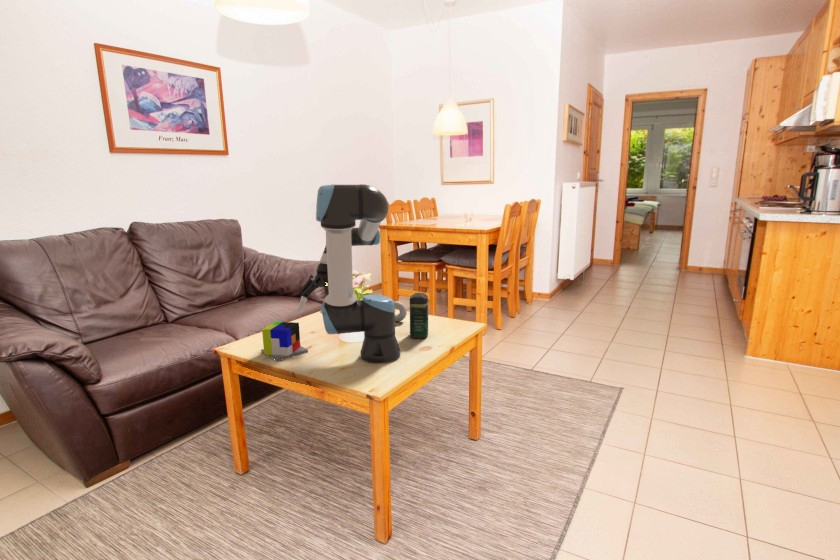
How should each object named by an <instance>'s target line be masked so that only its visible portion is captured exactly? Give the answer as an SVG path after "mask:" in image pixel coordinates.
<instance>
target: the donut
mask: <svg viewBox="0 0 840 560" xmlns="http://www.w3.org/2000/svg"><path fill="white" fill-rule="evenodd" d="M393 301H394V300H393ZM394 307H395V309H398V311H399V313H398V314H396V313H395V322H396V321H400V322H402V321H403V320H404V319H405V318H406V316H407V312H408V311H407V307H406V306H405V305H404V303H403V302H402V301H394Z"/></svg>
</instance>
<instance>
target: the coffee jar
mask: <svg viewBox="0 0 840 560" xmlns="http://www.w3.org/2000/svg"><path fill="white" fill-rule="evenodd" d="M409 336H410V338H414V339H416V338H421V339H424V338H427V337H428V336H429V295H428V294H426V293H424V292H415V293H413V294H412V295H410V296H409Z"/></svg>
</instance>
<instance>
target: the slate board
mask: <svg viewBox="0 0 840 560" xmlns="http://www.w3.org/2000/svg"><path fill="white" fill-rule="evenodd" d="M260 351H261V354H263V353H264V348H262V349H261V350H260ZM307 353H309V350H308V348H305V347H303V346H302V345H300V348H298V349H297V350H296V351H294V352H293V353H292V354H290V355H289V356H281V355H268V356H269V358H270V357H271V358H270V359H272V358H273V359H272V360H274V359H275V360H276V361H275V360H274V361H275V362H279V361H278V360H280V361H282V359H283V360H286V358H287V359H290V358H294V357H297V356H301V355H303V354H307ZM268 356H267V357H268ZM293 356H294V357H293Z"/></svg>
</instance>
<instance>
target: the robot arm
mask: <svg viewBox="0 0 840 560" xmlns="http://www.w3.org/2000/svg"><path fill="white" fill-rule="evenodd" d="M316 195H317V197H316V205H315V206H316V210H315V221H317V222H319V223H320V227H321V228H322V229H323V230H324V232H325V247H324V250H323V253H322V255H321V257H320V260H319V264H318V265H317V267H316V271H315V272H316V275H315V276H314V275H312V274H311V275H310V276H309V278H308V280H307V281H306V282H305V283H304V285H303V286H302V287H301V289H300V290H299V291H298V293H297V294H298V295H299V296H300V298H299V300H298V305H297V307H296V311H297V312H299V313H300V314H302V313H303V311H304V309H305V306H306V304H307V301H308V297H309V296H310V295H311V294H312V293H313V292H314V291H315V290H316V289H319V288H324V291H325V294H326V296H325V297H324V300H323V302H322V303H321V304H320V311H319V313H320V314H322V320H323V325H324V329H325V331H326V333H327V334H329V335H340V334H350V333H361V332H362V333H363V334H364V336H363V337H364V338H363V341H362V345H361V348H360V351H359V352H360V354H359V355H360V359H361V360H362V361H364V362H367V363H371V364H386V363H390V362H394V361H396V360H398V359H400V357H401V349H400V348H401V347H400V345H399V343H398V339H397V337H396V321H395V314H396V310H395V309H396V308H395V307H394V300H393V299H392V298H391V297H389V296H385V295H381V294H366V295H363V296H362V300H361V299H359V300H358V295H356V294H355V293H354V290H353V289H354V286H353V284H354V283H353V282H354V281H353V252H352V251H353V249H352V248H353V247H357V246H358V247H360V246H361V247H362V246H370V247H371V246H376V245H379V244H380V243H381V231H380V225H381V223H382V221H384V220H385V219H386V218H387V215H388V213H389V202H388V199H387V198H386V196H385V194H384V193H382V192H381V190H379V189H378V188H377V187H374V186H372V185H369V184H326V185H325V184H324V185H320V186H319V188H318V190H317V194H316ZM356 221H359V226H358V227H356ZM325 282H327V283H328V286H325V285H326V283H325Z"/></svg>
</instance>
